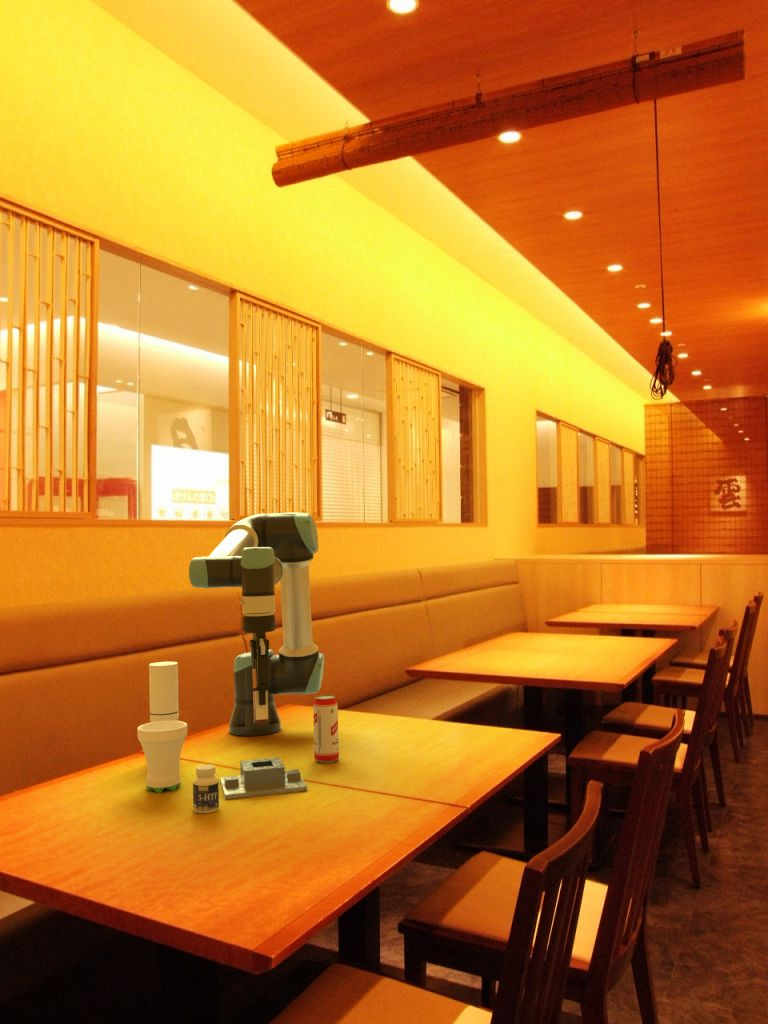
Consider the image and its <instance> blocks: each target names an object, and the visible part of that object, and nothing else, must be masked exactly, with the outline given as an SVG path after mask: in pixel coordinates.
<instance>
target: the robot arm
mask: <svg viewBox="0 0 768 1024" xmlns="http://www.w3.org/2000/svg"><path fill="white" fill-rule="evenodd" d="M315 522H316V521H315V519H314V517H313V516H312V515H311V514H310V513H307V512H295V511H294V512H281V513H280V512H279V513H277V512H276V513H258V514H253V515H251V516H247V517H245V518H242V519H241V520H239V521H237V522H236V523H234V524H232V526H231V527H229V528H228V529H227V530H226V531H225V534H224V539H223V540H222V541H221V542H220V543H219V544H218V546H216V547H215V548H214V549H213V550H212V552H211V553H209V554H208V556H199V557H193V558H191V560H190V562H189V566H188V579H189V582H190V585H191V586H192V587H194V588H200V589H216V588H218V589H219V588H241V596H242V597H241V598H242V599H241V600H239V605H240V606H241V605H242V606H241V607H242V613H243V614H244V615H243V617H241V618H242V619H241V621H242V631H243V633H248V634H252V639H249V646H250V651H249V652H244V653H242V654H238V655H237V656H236V657H235V658H234V659H233V660H234V661H233V689H234V691H233V693H234V706H233V710H232V713H231V717H230V721H229V725H228V732H229V733H230V734H231V735H234V736H244V737H249V736H250V737H253V736H265V735H270V734H273V733H276V732H279V731H280V730H281V729H282V728H281V727H282V725H281V724H282V723H281V719H280V715H279V713H278V710H277V707H276V704H275V695H308V694H309V695H310V694H317V693H318V692H319V691H320V689H321V687H322V681H323V676H324V667H325V655H324V654H323V653H321V652H319V646H318V645H317V644H315V643H314V641H313V637H314V636H313V621H312V603H311V600H312V599H311V587H310V586H311V584H310V568H309V567H310V563H311V562H312V561H313V560H314V559H315V557H314V554H316V553H318V551H319V537H318V532H317V531H318V530H317V526H316V523H315ZM278 583H279V586H280V587H279V588H280V591H279V592H280V605H281V607H280V608H281V621H282V624H281V625H282V640H283V645H281V647H280V648H279V649H278V654H275V652H274V651H273V649H270V640H269V639H268V638H267V633H270V632H274V631H276V625H277V623H276V616H275V614H274V613H275V612H276V594H275V593H276V592H275V589H276V587H275V585H276V584H278ZM255 668H256V688H253V669H255ZM253 691H255V703H256V720H263V719H268V722H267V723H254V701H253Z"/></svg>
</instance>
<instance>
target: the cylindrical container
mask: <svg viewBox="0 0 768 1024" xmlns="http://www.w3.org/2000/svg"><path fill="white" fill-rule="evenodd" d="M178 663H179V662H178V661H159V662H151V663H149V664H148V676H149V677H148V678H149V680H148V681H149V682H148V683H149V684H148V685H149V686H148V687H149V723H151V722H157V721H180V720H179V719H180V718H179V716H180V715H179V710H180V709H179V669H178V668H179V666H178V665H179V664H178Z"/></svg>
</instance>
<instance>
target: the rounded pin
mask: <svg viewBox="0 0 768 1024" xmlns="http://www.w3.org/2000/svg"><path fill="white" fill-rule="evenodd" d="M253 688H256V668H255V669H253ZM253 701H254V723H267V722H268V719H263V720H256V703H255V691H253Z"/></svg>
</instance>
